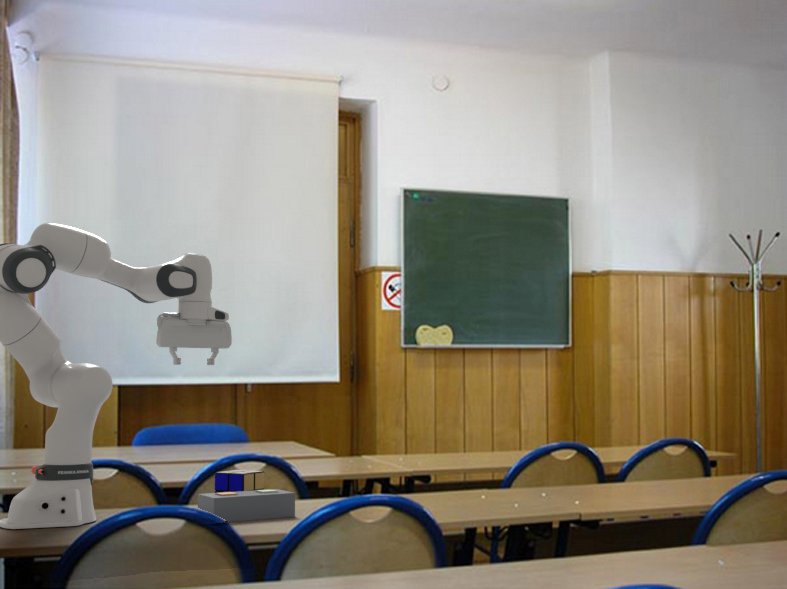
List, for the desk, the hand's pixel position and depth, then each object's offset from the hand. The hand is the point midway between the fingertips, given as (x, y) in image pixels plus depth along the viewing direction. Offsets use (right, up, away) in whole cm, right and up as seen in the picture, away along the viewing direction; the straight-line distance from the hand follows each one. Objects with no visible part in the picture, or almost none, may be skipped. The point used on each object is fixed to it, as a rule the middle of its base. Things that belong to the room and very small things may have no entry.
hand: (194, 364), depth 251 cm
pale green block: (+21, -38, -10) cm, 44 cm away
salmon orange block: (+11, -37, -16) cm, 42 cm away
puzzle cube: (+11, -40, +6) cm, 42 cm away
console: (+16, -38, -13) cm, 43 cm away
